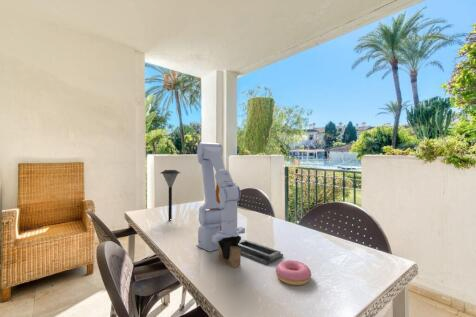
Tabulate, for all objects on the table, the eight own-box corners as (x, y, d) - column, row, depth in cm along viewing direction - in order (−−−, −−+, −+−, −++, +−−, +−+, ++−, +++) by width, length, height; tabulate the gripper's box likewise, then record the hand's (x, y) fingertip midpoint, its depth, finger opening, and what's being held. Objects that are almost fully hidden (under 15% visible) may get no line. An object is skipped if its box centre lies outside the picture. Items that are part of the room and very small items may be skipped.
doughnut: (285, 266, 81) (285, 254, 81) (316, 277, 74) (316, 264, 74) (268, 279, 73) (269, 266, 73) (302, 292, 66) (302, 277, 66)
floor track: (231, 250, 94) (231, 244, 94) (247, 244, 101) (247, 238, 101) (267, 265, 81) (267, 258, 81) (283, 256, 89) (283, 250, 89)
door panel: (218, 259, 86) (218, 243, 86) (223, 257, 87) (223, 241, 87) (235, 268, 79) (235, 250, 79) (240, 265, 81) (240, 248, 81)
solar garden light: (158, 218, 142) (158, 169, 142) (178, 216, 148) (178, 169, 147) (160, 223, 131) (161, 170, 131) (182, 221, 136) (182, 170, 136)
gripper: (221, 225, 75) (221, 267, 75) (251, 217, 86) (250, 254, 86) (208, 221, 80) (207, 260, 80) (237, 214, 91) (237, 249, 91)
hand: (229, 257), depth 83 cm, fingers closed on door panel, 2 cm apart
